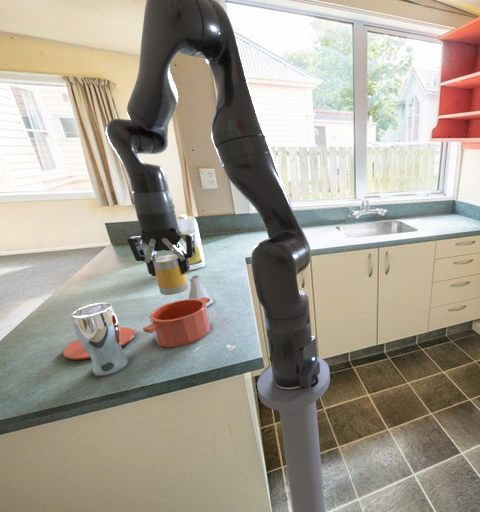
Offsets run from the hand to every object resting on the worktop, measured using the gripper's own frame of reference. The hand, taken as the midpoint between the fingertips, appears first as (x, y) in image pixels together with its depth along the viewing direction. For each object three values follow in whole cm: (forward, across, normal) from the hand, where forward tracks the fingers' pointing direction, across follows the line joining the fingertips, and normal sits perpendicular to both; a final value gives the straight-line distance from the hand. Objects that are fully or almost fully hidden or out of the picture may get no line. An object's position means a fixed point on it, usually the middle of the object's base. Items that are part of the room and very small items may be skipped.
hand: (170, 273), depth 77 cm
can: (+5, 0, 0) cm, 5 cm away
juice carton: (+18, -16, +59) cm, 63 cm away
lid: (+17, -19, -1) cm, 26 cm away
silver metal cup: (+18, -11, -12) cm, 24 cm away
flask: (+18, -1, +18) cm, 26 cm away
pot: (+18, 0, 0) cm, 18 cm away
